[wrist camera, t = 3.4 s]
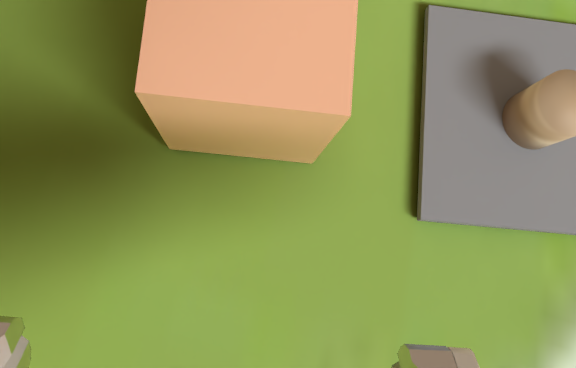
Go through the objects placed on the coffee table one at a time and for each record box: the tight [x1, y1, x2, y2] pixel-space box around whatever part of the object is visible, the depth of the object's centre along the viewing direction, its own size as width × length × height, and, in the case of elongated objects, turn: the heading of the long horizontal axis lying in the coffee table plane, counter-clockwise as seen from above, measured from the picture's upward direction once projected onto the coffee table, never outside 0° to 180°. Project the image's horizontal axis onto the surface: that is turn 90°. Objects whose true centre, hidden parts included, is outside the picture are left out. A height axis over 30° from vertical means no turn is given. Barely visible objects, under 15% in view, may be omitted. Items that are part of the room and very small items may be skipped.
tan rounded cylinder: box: [502, 69, 576, 150], centre depth 23 cm, size 3×3×3 cm
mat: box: [417, 5, 576, 235], centre depth 25 cm, size 11×11×1 cm
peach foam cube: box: [135, 0, 358, 163], centre depth 20 cm, size 7×7×8 cm
